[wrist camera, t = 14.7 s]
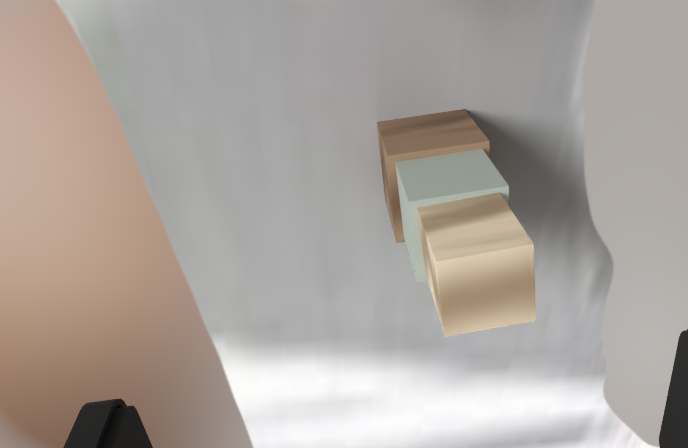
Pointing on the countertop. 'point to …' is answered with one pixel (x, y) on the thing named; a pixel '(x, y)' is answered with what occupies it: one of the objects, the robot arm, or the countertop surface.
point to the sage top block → (442, 190)
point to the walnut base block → (422, 148)
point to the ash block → (477, 264)
